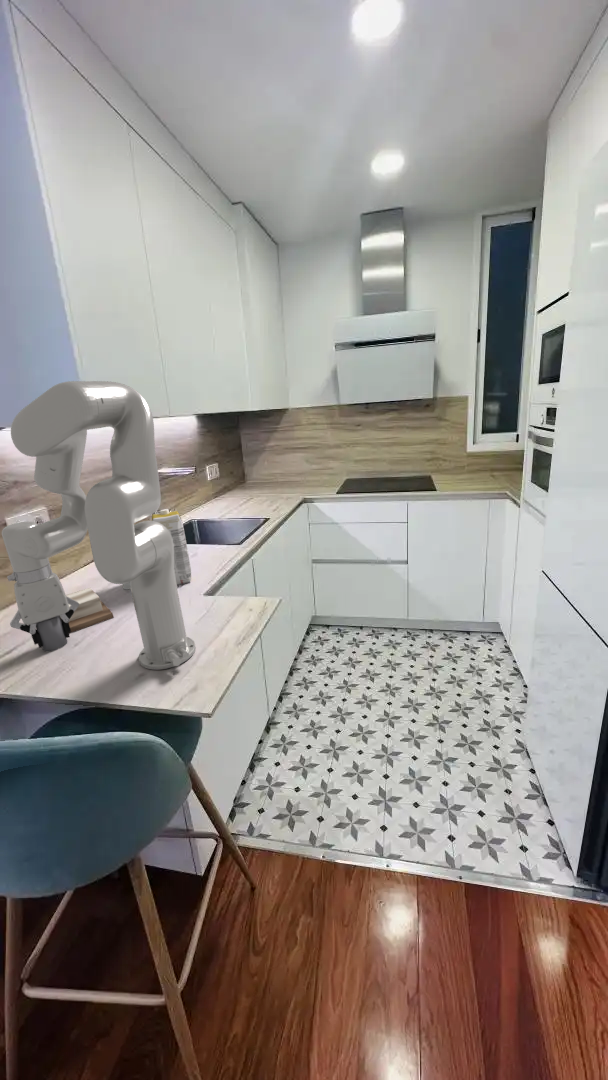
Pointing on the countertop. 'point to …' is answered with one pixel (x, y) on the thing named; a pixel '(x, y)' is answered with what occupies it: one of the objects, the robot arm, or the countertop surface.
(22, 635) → the countertop surface
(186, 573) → the juice carton
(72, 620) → the plinth base
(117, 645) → the countertop surface
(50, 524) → the robot arm
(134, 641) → the countertop surface
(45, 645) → the charcoal cylinder
